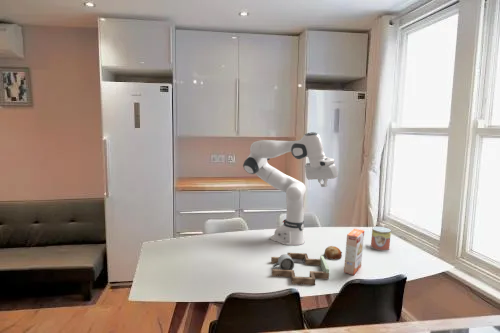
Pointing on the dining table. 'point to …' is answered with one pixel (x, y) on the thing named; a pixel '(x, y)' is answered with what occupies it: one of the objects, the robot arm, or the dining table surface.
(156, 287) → the dining table surface
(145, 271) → the dining table surface
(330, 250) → the bread roll
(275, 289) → the dining table surface
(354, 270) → the cracker box
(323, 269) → the sage end wall
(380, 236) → the canned food
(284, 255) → the ceramic mug
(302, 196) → the robot arm
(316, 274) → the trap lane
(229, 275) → the dining table surface
